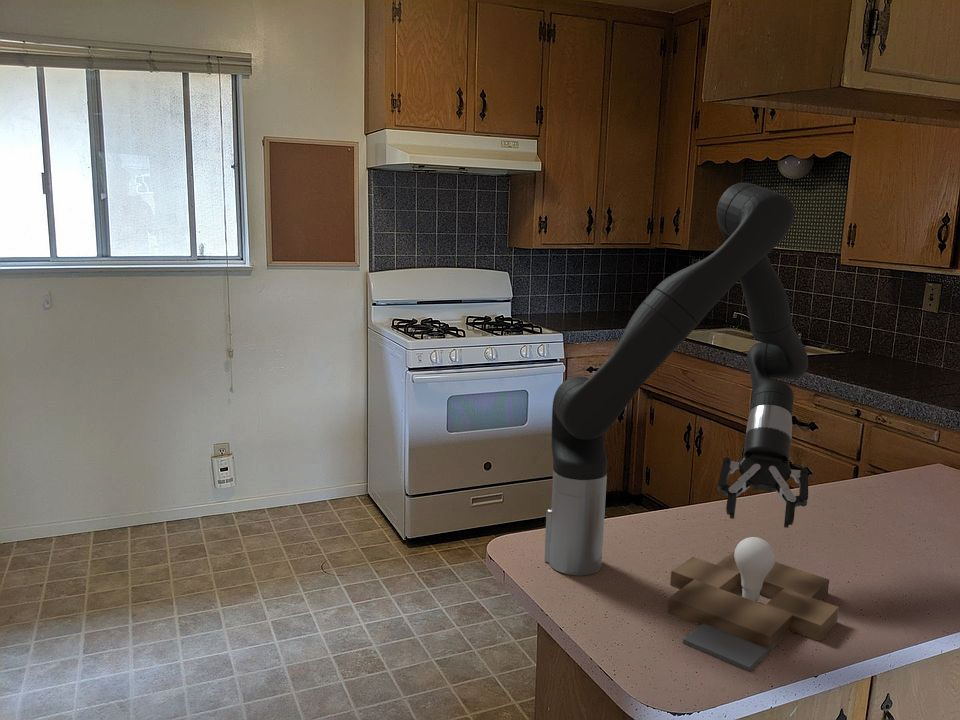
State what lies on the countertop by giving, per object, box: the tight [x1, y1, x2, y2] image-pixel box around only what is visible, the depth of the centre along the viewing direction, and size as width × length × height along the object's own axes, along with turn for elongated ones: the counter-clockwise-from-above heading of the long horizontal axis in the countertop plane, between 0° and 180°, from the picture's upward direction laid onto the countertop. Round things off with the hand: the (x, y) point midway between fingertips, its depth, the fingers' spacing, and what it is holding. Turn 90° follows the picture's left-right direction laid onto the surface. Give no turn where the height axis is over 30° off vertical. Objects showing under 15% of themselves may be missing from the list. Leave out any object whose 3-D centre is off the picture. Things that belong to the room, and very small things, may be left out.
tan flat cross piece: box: [667, 550, 839, 653], centre depth 125 cm, size 24×24×2 cm
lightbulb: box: [734, 536, 776, 602], centre depth 124 cm, size 6×6×11 cm
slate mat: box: [682, 623, 777, 672], centre depth 113 cm, size 10×9×1 cm
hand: (758, 521), depth 128 cm, fingers open, 8 cm apart
